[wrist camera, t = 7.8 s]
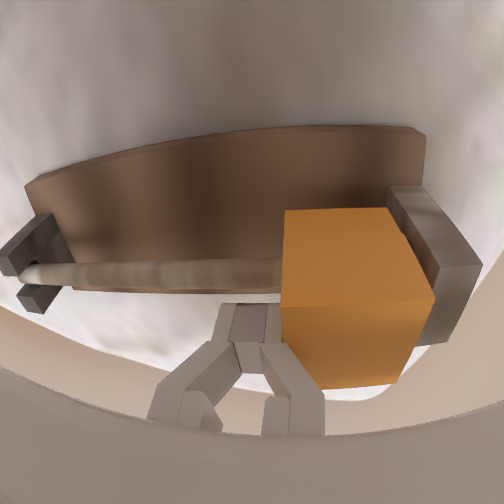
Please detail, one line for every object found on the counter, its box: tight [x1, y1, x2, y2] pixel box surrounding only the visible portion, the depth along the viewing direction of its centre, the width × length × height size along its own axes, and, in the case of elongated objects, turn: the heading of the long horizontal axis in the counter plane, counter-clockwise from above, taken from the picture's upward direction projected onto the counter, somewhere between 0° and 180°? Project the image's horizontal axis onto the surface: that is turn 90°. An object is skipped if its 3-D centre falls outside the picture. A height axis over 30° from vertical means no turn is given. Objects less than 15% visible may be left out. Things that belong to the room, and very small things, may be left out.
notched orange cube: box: [280, 208, 435, 390], centre depth 10 cm, size 4×4×5 cm
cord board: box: [0, 125, 483, 347], centre depth 13 cm, size 23×9×8 cm, turn 97°
